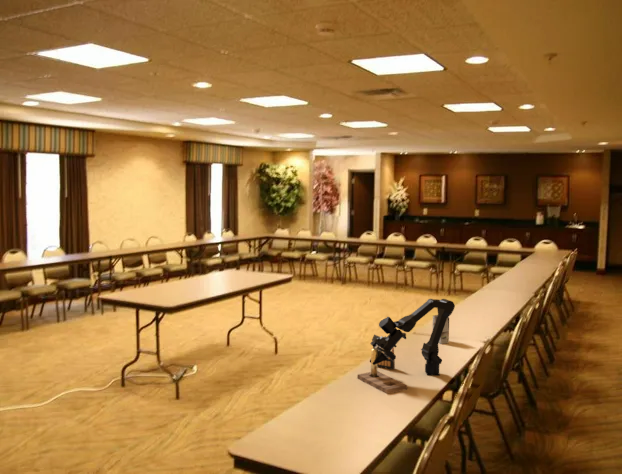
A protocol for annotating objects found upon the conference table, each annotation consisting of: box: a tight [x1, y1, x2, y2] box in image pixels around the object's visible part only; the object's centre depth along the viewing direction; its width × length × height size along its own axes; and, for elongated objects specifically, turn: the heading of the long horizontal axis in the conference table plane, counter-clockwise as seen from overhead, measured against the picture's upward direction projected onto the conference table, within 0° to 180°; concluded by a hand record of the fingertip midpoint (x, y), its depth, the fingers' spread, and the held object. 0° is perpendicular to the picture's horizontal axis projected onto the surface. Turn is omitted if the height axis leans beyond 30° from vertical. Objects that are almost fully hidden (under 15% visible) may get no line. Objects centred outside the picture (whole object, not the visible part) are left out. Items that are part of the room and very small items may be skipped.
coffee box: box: [432, 314, 450, 345], centre depth 349 cm, size 9×6×16 cm
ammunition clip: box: [377, 347, 396, 370], centre depth 298 cm, size 11×2×12 cm, turn 62°
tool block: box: [356, 370, 408, 395], centre depth 273 cm, size 24×12×2 cm, turn 30°
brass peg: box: [370, 347, 378, 378], centre depth 278 cm, size 3×3×16 cm
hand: (371, 363), depth 278 cm, fingers closed on brass peg, 3 cm apart
